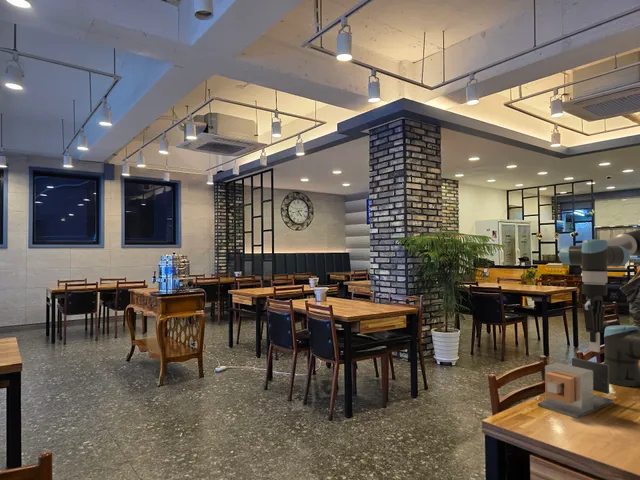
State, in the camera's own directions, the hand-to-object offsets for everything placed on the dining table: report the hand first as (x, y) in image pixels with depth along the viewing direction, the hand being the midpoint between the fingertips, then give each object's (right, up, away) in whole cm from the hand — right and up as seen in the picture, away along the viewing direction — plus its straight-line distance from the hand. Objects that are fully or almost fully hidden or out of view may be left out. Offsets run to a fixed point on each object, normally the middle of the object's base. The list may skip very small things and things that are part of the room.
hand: (594, 351), depth 148 cm
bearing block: (-6, -19, +1) cm, 20 cm away
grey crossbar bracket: (-8, -15, 0) cm, 17 cm away
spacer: (-15, -15, -5) cm, 22 cm away
